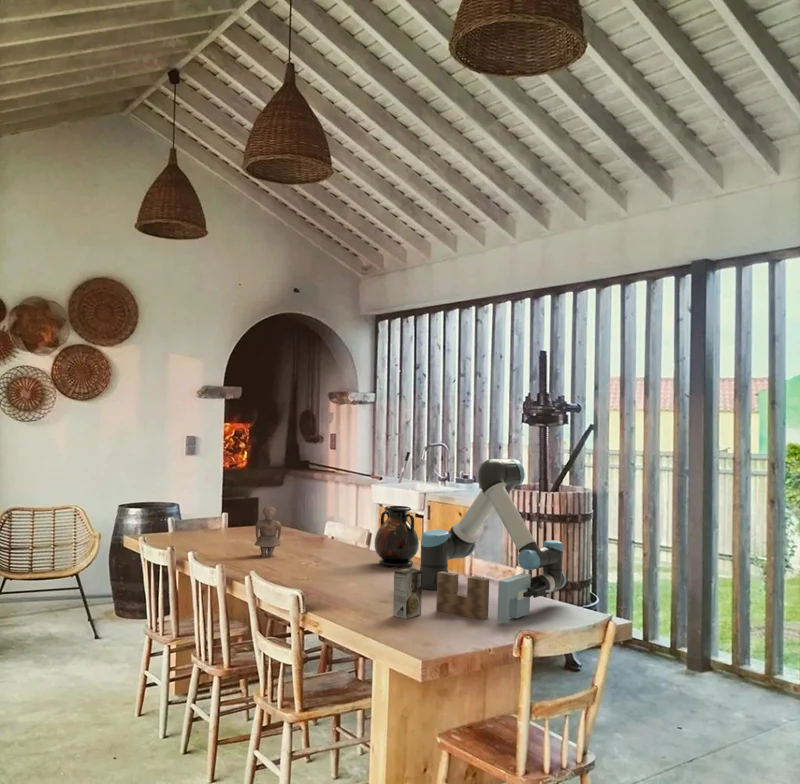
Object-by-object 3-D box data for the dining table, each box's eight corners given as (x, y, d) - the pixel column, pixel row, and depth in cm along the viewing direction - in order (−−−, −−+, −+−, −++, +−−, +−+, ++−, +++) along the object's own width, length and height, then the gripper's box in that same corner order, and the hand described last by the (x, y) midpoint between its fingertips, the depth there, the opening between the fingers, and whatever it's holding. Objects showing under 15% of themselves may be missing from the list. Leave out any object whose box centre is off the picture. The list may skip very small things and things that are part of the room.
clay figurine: (255, 558, 389) (257, 507, 390) (252, 554, 399) (254, 504, 399) (281, 557, 393) (283, 507, 394) (278, 554, 403) (279, 504, 404)
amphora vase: (426, 565, 386) (428, 507, 387) (401, 571, 368) (403, 510, 369) (390, 559, 398) (392, 503, 399) (364, 565, 380) (366, 506, 381)
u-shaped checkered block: (436, 610, 295) (437, 572, 295) (441, 608, 298) (442, 571, 298) (483, 619, 283) (484, 580, 283) (488, 618, 286) (489, 579, 286)
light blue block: (497, 620, 278) (498, 580, 279) (520, 611, 293) (522, 573, 293) (506, 622, 276) (507, 582, 277) (529, 613, 291) (530, 574, 291)
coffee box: (407, 611, 292) (409, 567, 292) (421, 614, 288) (423, 570, 288) (392, 615, 285) (393, 570, 285) (406, 619, 281) (407, 573, 281)
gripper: (561, 598, 298) (533, 609, 279) (521, 591, 307) (491, 601, 288) (561, 578, 298) (534, 588, 279) (522, 571, 308) (492, 580, 289)
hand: (512, 595), depth 284 cm, fingers closed on light blue block, 3 cm apart
